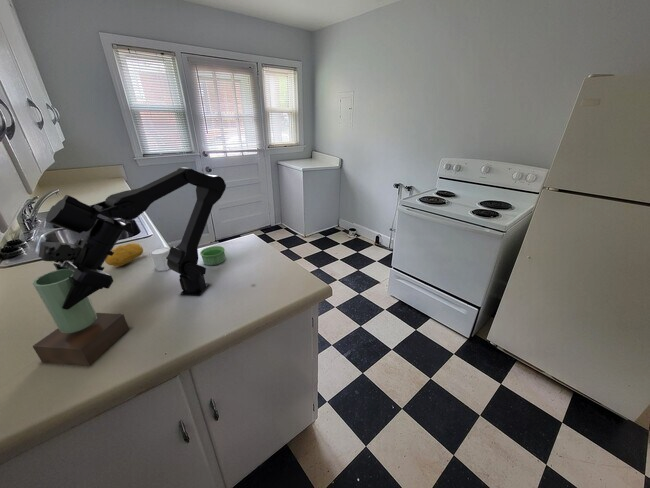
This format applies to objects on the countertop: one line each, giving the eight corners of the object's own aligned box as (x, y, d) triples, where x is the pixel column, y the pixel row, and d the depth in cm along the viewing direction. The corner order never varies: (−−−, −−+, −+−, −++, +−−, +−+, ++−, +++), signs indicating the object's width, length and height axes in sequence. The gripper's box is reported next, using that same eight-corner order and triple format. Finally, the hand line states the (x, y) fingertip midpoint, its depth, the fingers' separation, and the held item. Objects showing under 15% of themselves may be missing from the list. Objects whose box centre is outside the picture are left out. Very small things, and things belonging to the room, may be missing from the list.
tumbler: (90, 309, 69) (69, 265, 63) (102, 319, 66) (81, 274, 60) (54, 325, 63) (28, 279, 58) (66, 337, 60) (39, 289, 54)
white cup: (165, 272, 99) (160, 255, 96) (150, 270, 100) (144, 254, 98) (178, 263, 105) (174, 247, 102) (163, 262, 107) (158, 246, 104)
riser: (129, 328, 72) (123, 313, 70) (89, 365, 61) (81, 349, 59) (88, 326, 73) (81, 311, 71) (42, 362, 62) (32, 346, 60)
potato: (102, 268, 102) (96, 252, 99) (137, 253, 114) (132, 238, 111) (115, 272, 100) (109, 255, 97) (150, 256, 111) (145, 241, 108)
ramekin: (217, 253, 113) (215, 244, 111) (231, 259, 108) (229, 249, 106) (197, 262, 106) (195, 252, 104) (210, 268, 101) (208, 258, 99)
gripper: (46, 219, 62) (1, 281, 59) (73, 235, 53) (21, 311, 49) (99, 238, 72) (62, 293, 68) (130, 255, 62) (90, 320, 58)
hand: (59, 303), depth 61 cm, fingers closed on tumbler, 7 cm apart
